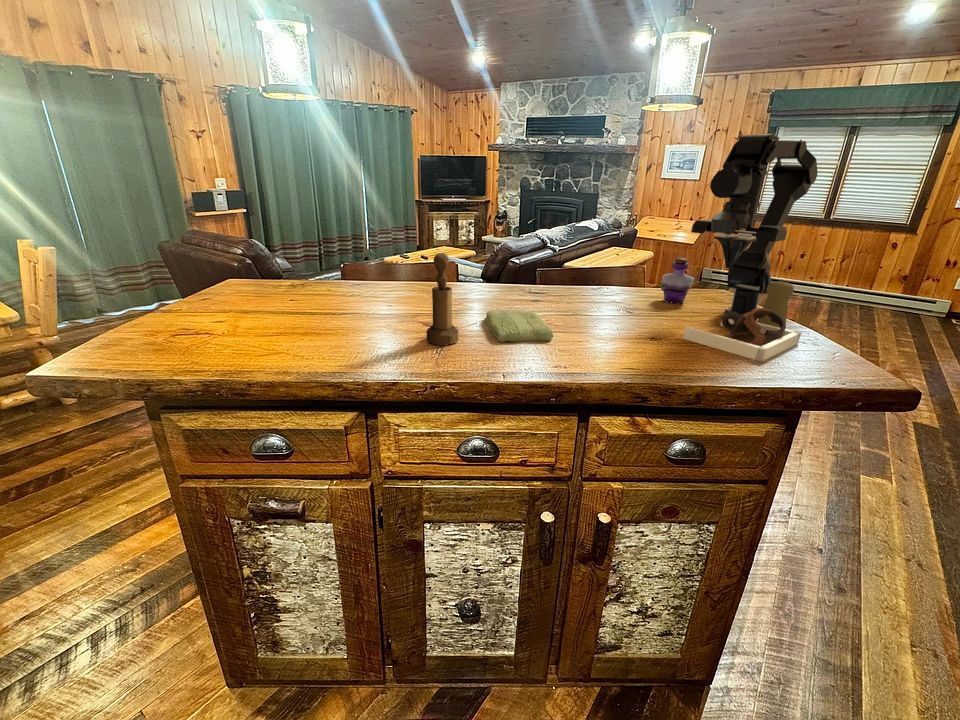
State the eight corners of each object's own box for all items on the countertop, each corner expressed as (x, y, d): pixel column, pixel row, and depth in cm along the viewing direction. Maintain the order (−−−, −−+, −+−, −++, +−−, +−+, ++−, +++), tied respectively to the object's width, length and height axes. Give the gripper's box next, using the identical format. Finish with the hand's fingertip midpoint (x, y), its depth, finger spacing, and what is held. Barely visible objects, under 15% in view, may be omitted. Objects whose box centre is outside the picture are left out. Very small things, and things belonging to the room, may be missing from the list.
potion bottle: (654, 296, 136) (661, 254, 131) (685, 298, 135) (693, 256, 130) (661, 304, 128) (668, 260, 123) (694, 306, 127) (702, 261, 122)
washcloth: (535, 319, 115) (535, 306, 114) (555, 343, 99) (556, 329, 97) (482, 320, 113) (482, 307, 112) (494, 345, 97) (494, 331, 96)
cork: (789, 333, 106) (802, 286, 102) (760, 331, 107) (772, 284, 103) (779, 325, 112) (791, 280, 107) (751, 323, 113) (762, 278, 108)
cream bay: (722, 324, 112) (724, 314, 111) (797, 343, 100) (801, 332, 99) (683, 338, 102) (685, 327, 101) (761, 361, 90) (764, 349, 89)
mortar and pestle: (462, 337, 100) (463, 252, 93) (451, 347, 94) (450, 257, 87) (434, 334, 102) (432, 250, 95) (421, 343, 96) (418, 255, 89)
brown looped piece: (768, 337, 105) (790, 312, 98) (766, 367, 99) (790, 343, 93) (714, 318, 107) (733, 293, 101) (709, 347, 102) (728, 321, 95)
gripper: (684, 195, 105) (672, 265, 111) (773, 200, 92) (754, 279, 97) (710, 195, 112) (697, 260, 117) (796, 199, 98) (777, 273, 104)
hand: (728, 268), depth 109 cm, fingers closed
